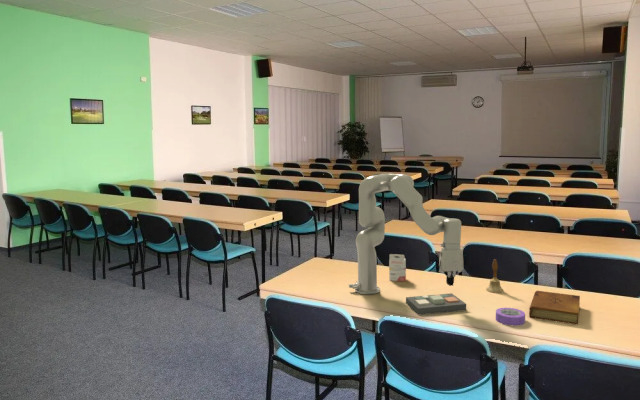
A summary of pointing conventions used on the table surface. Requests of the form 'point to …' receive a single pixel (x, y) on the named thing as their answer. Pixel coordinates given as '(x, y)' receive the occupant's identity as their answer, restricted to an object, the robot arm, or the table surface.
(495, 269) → the hand bell
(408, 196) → the robot arm
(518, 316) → the masking tape
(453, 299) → the key terracotta
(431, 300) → the key sage
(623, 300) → the table surface
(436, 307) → the keypad
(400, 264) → the ink cartridge box
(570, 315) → the diary
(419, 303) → the key cream
